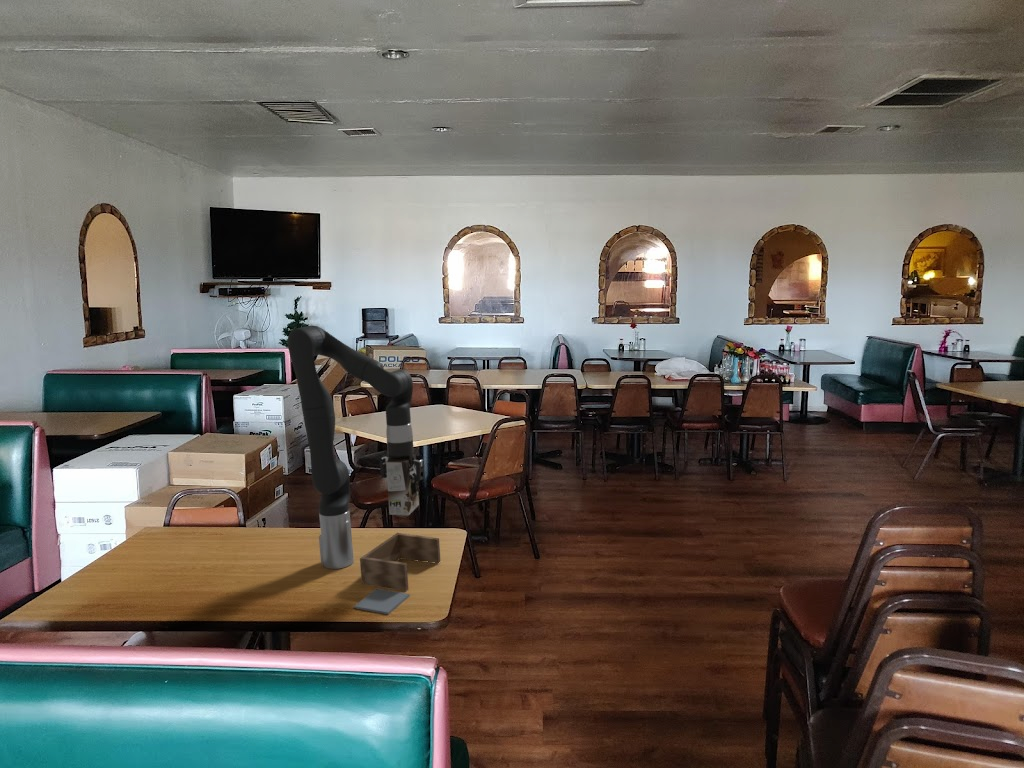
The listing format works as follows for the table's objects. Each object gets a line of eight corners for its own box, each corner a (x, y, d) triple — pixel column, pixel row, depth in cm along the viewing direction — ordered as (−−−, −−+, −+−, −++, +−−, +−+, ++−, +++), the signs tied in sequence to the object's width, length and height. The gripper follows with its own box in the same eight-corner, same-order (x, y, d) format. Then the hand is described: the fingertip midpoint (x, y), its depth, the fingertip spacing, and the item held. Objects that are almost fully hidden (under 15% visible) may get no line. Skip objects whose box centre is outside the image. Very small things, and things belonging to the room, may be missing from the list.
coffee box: (409, 515, 200) (406, 462, 198) (388, 515, 202) (384, 461, 199) (420, 505, 209) (416, 453, 207) (399, 504, 211) (396, 453, 208)
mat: (354, 608, 189) (353, 606, 189) (376, 590, 199) (376, 588, 199) (388, 614, 185) (388, 612, 185) (409, 596, 195) (409, 594, 195)
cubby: (361, 583, 204) (359, 558, 202) (398, 556, 222) (397, 532, 221) (406, 591, 198) (404, 564, 196) (440, 562, 216) (439, 538, 215)
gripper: (371, 440, 201) (375, 494, 204) (414, 443, 196) (418, 499, 198) (385, 434, 208) (389, 486, 211) (427, 436, 202) (430, 491, 205)
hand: (403, 492), depth 205 cm, fingers closed on coffee box, 7 cm apart
